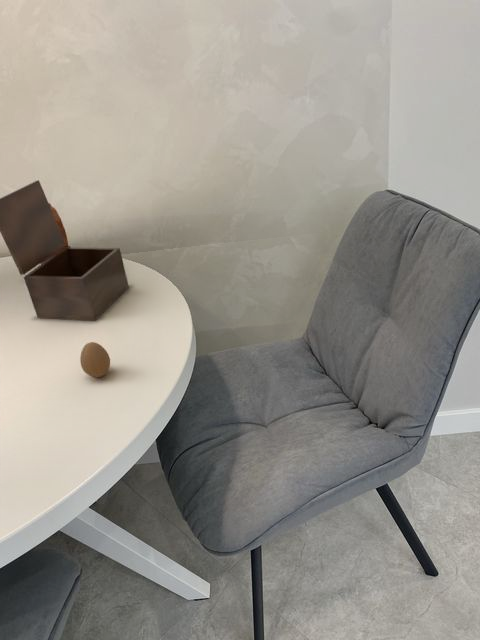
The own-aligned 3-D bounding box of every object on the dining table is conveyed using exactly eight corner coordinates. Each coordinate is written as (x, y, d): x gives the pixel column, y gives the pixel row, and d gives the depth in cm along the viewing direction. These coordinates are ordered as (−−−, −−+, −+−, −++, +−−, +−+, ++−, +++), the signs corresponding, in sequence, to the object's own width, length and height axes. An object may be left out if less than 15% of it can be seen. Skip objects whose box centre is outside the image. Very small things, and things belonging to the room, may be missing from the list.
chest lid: (39, 180, 107) (35, 180, 107) (-10, 203, 95) (-14, 204, 95) (66, 244, 113) (63, 245, 114) (24, 274, 102) (20, 274, 102)
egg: (85, 371, 89) (75, 339, 86) (113, 364, 90) (104, 333, 86) (85, 386, 85) (75, 353, 82) (114, 379, 86) (105, 347, 83)
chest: (129, 287, 115) (119, 247, 110) (94, 321, 103) (82, 278, 99) (76, 285, 118) (65, 247, 114) (37, 318, 107) (23, 276, 102)
